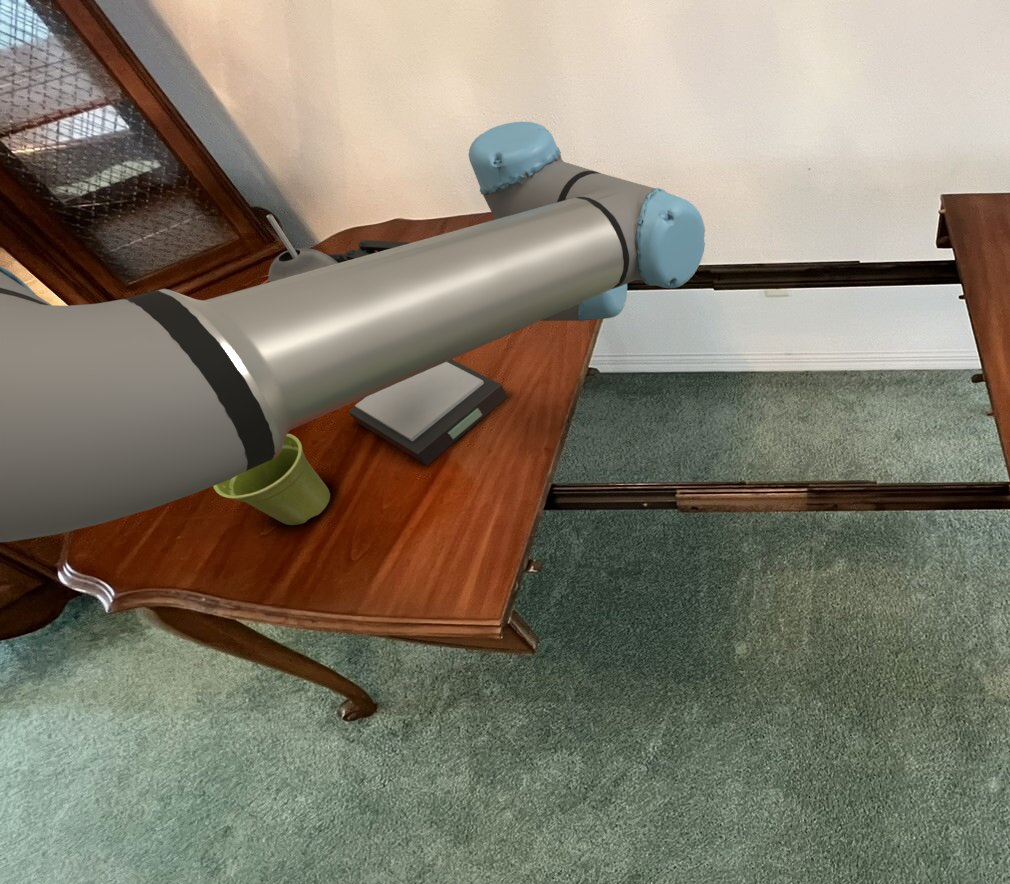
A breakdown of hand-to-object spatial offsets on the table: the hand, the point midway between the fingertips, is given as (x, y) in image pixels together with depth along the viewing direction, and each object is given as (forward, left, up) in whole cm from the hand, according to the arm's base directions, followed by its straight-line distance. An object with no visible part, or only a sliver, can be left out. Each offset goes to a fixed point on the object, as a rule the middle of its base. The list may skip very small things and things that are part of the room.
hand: (273, 291), depth 72 cm
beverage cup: (+2, -4, -11) cm, 12 cm away
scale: (+6, -2, -24) cm, 25 cm away
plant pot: (-13, -1, -24) cm, 27 cm away
